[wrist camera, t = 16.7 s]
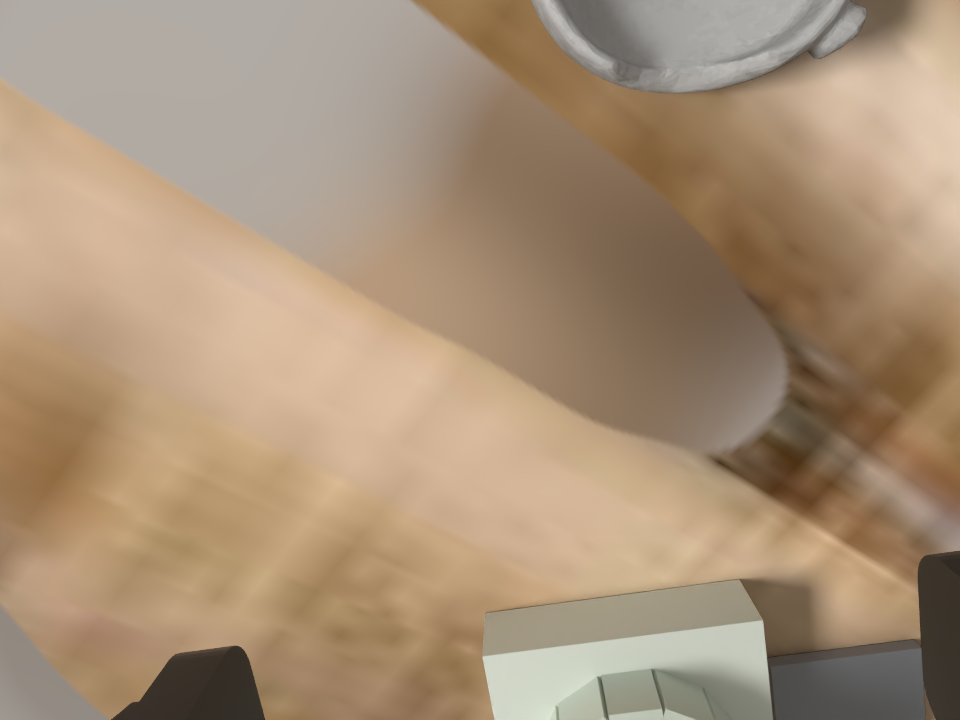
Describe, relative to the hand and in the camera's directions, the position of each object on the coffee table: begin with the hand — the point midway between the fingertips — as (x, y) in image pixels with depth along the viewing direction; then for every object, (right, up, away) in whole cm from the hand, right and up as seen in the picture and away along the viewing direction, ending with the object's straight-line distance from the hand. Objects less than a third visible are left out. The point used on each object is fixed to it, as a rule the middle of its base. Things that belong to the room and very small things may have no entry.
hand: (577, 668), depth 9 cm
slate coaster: (+19, -16, +34) cm, 42 cm away
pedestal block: (+7, -16, +34) cm, 39 cm away
